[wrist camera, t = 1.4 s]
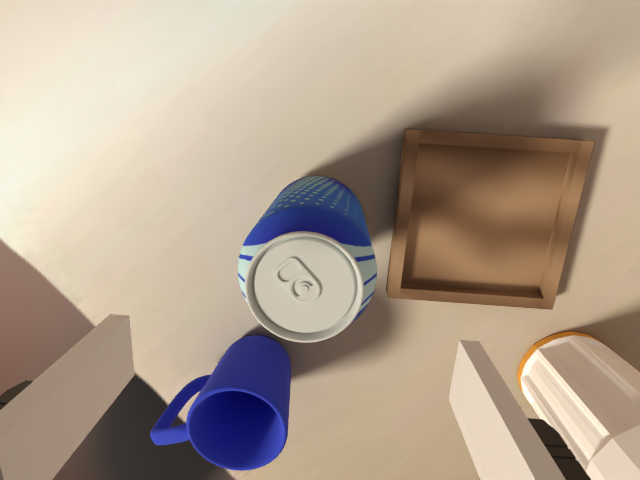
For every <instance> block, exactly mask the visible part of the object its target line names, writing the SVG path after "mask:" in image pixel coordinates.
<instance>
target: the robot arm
mask: <svg viewBox="0 0 640 480" xmlns="http://www.w3.org/2000/svg"><path fill="white" fill-rule="evenodd" d="M133 376H134V365H133V354H132V342H131V331H130V320H129V316H127V315H113V314H110V315H109V316H108V317H107V318H105V319H104V320H103V321H102V322H101V323H100V324H99V325H97V326H96V327H95V328H94V329H93V330H92V331H91V332H89V333H88V334H87V335H86V336H85V337H84V338H83V339H81V340H80V341H79V342H78V343H77V344H76V345H74V346H73V347H72V348H71V349H70V350H69V351H68V352H66V353H65V355H63V356H62V357H61V358H60V359H58V360H57V361H56V362H55V363H54V364H53V365H52V366H50V367H49V368H48V369H47V370H46V371H45V372H44V373H42V374H41V375H40V376H39V377H38V378H37V379H35V380H34V381H24V382H22V383H20V384H18V385H17V386H15V387H13V388H11V389H9V390H7V391H6V392H5V393H4V394H2V395H1V396H0V480H52V479H53V478H54V476H55V475H56V474H57V472H58V471H59V470H60V469H61V467H62V466H63V465H64V464H65V462H66V461H67V460H68V458H69V457H70V456H71V455H72V454H73V452H74V451H75V450H76V448H77V447H78V446H79V445H80V443H81V442H82V441H83V439H84V438H85V437H86V436H87V434H88V433H89V432H90V431H91V429H92V428H93V427H94V426H95V424H96V423H97V422H98V420H99V419H100V418H101V417H102V415H103V414H104V413H105V412H106V410H107V409H108V408H109V406H110V405H111V404H112V403H113V401H114V400H115V398H116V397H117V396H118V395H119V394H120V392H121V391H122V390H123V389H124V387H125V386H126V385H127V384H128V382H129V381H130V380H131V378H132V377H133ZM449 401H450V403H451V406H452V408H453V411H454V413H455V416H456V419H457V421H458V424H459V426H460V429H461V431H462V434H463V436H464V439H465V442H466V444H467V447H468V449H469V452H470V454H471V457H472V459H473V462H474V464H475V467H476V470H477V472H478V475H479V477H480V480H591V479H590V477H589V476H588V474H587V473H586V471H585V470H584V469H583V467H582V466H581V464H580V463H579V461H578V460H576V457H575V456H574V454H573V453H572V451H571V450H570V449H568V446H567V444H566V443H565V441H564V440H563V438H562V437H561V436H560V434H559V433H558V432H557V431H556V430H555V429H554V428H553V427H551V426H550V425H549V424H548V423H547V422H545V421H544V420H543V419H530V418H527V417H526V415H525V414H524V412H523V411H522V409H521V407H520V406H519V404H518V403H517V401H516V399H515V398H514V396H513V395H512V393H511V391H510V390H509V388H508V387H507V385H506V383H505V382H504V380H503V379H502V377H501V375H500V374H499V372H498V371H497V369H496V368H495V366H494V364H493V363H492V361H491V360H490V358H489V356H488V355H487V353H486V352H485V350H484V348H483V347H482V345H481V344H480V342H479V341H467V340H459V345H458V351H457V356H456V362H455V367H454V373H453V378H452V384H451V389H450V395H449Z"/></svg>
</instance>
